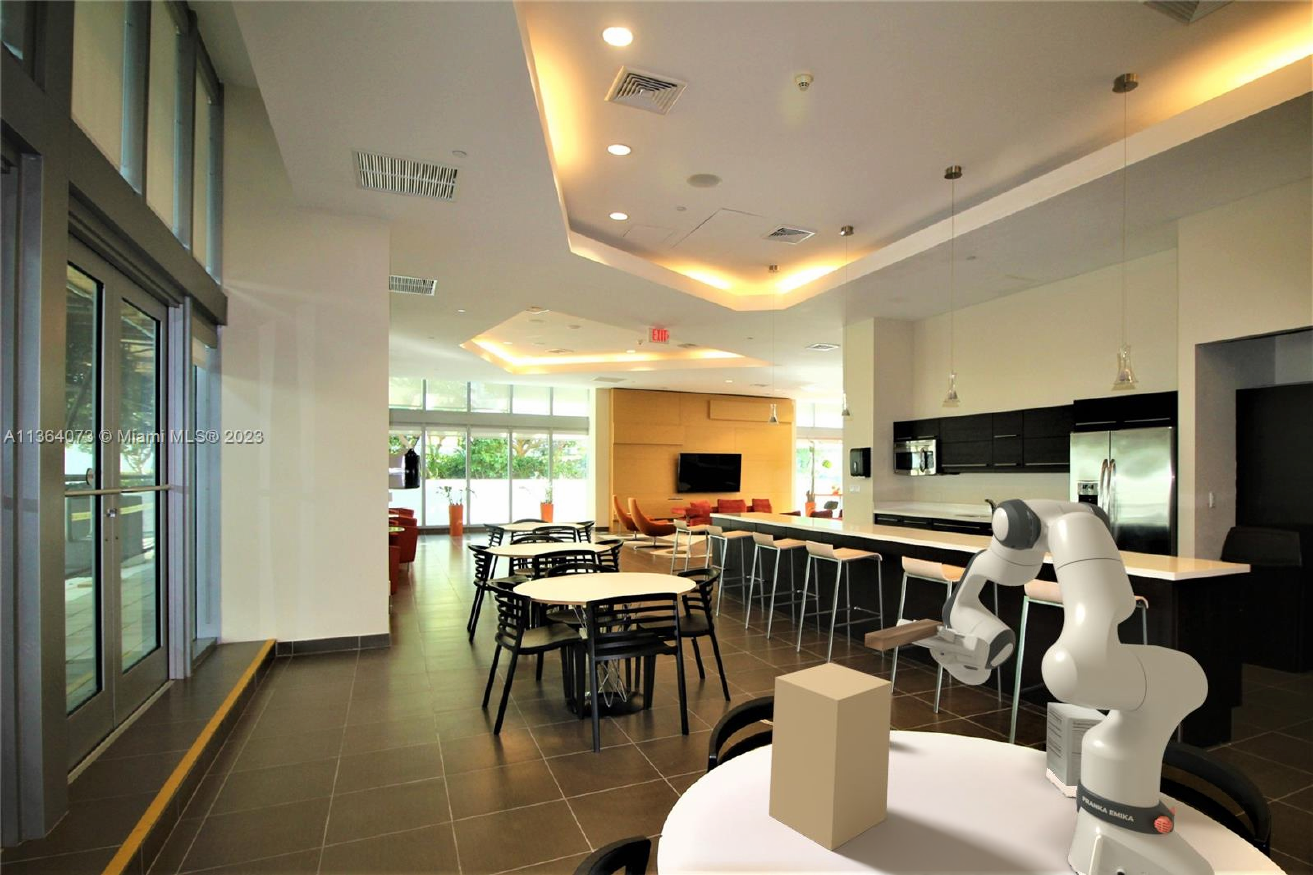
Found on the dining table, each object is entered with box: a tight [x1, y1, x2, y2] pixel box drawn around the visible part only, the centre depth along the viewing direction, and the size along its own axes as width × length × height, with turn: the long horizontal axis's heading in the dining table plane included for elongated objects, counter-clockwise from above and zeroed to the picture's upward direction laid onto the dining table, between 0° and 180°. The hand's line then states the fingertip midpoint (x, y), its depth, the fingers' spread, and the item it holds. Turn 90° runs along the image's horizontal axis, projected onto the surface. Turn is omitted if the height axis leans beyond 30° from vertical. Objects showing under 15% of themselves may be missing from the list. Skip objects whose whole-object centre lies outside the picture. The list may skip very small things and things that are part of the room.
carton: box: [768, 662, 893, 852], centre depth 126 cm, size 14×18×26 cm
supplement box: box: [1045, 702, 1107, 786], centre depth 143 cm, size 10×9×17 cm
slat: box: [864, 618, 944, 652], centre depth 144 cm, size 4×26×2 cm, turn 130°
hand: (926, 626), depth 150 cm, fingers closed on slat, 4 cm apart
